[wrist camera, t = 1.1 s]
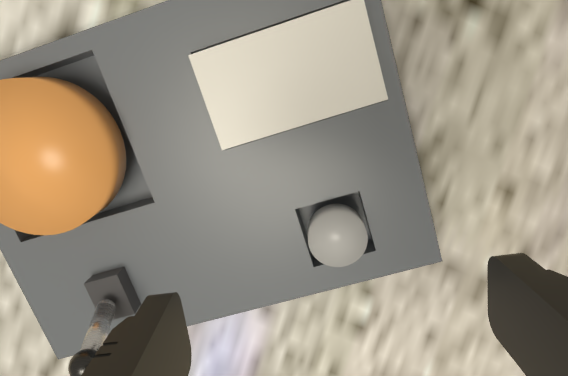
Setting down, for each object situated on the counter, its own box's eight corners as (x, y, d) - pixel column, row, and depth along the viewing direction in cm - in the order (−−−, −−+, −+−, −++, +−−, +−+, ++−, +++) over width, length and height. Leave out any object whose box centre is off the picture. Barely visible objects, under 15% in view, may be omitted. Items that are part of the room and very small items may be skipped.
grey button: (356, 196, 27) (359, 204, 25) (370, 247, 28) (374, 258, 26) (300, 212, 27) (300, 221, 26) (316, 262, 28) (317, 273, 27)
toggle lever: (113, 289, 27) (86, 368, 23) (127, 306, 28) (104, 385, 24) (88, 296, 28) (56, 375, 23) (103, 313, 29) (75, 392, 24)
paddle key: (358, 1, 24) (362, -5, 22) (381, 96, 25) (388, 99, 23) (197, 55, 25) (188, 55, 23) (227, 144, 26) (221, 150, 24)
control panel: (357, -55, 26) (367, -78, 22) (429, 242, 31) (448, 269, 27) (-45, 88, 29) (-101, 91, 25) (78, 334, 34) (48, 370, 30)
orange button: (89, 56, 25) (67, 55, 23) (148, 199, 27) (134, 212, 25) (-45, 103, 26) (-79, 106, 24) (22, 237, 29) (-2, 252, 26)
